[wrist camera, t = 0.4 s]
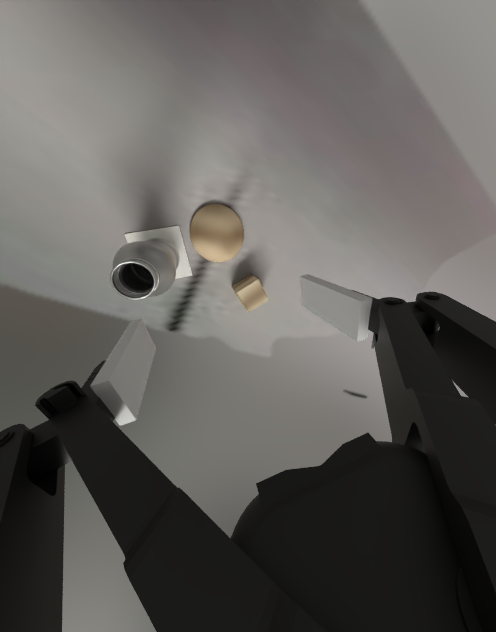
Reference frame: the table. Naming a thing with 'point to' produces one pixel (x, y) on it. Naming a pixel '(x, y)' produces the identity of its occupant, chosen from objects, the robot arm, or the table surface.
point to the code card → (173, 237)
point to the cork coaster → (216, 233)
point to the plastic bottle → (144, 268)
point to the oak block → (250, 292)
